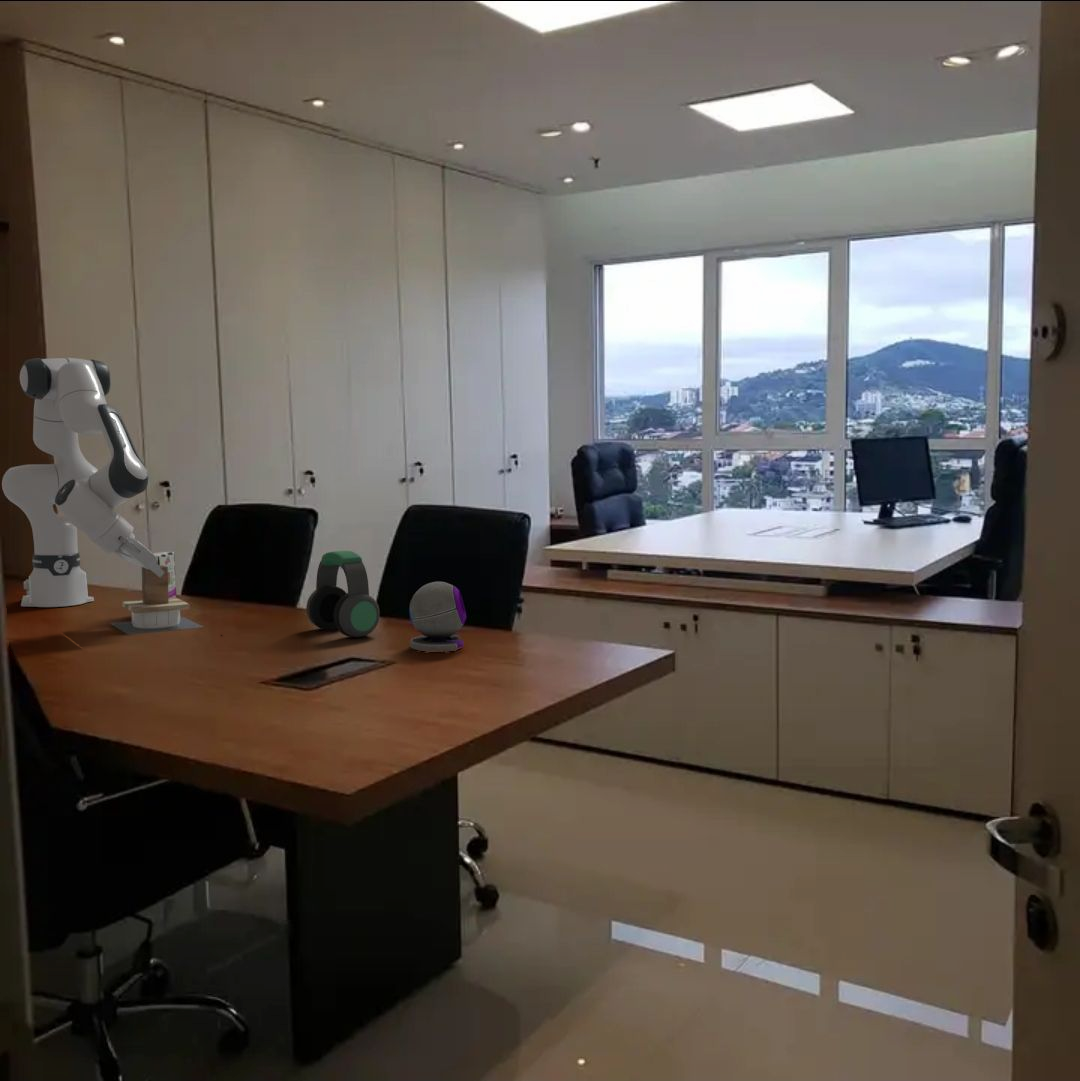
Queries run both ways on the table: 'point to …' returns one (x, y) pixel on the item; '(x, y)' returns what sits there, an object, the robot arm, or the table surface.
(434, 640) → the webcam
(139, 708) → the table surface
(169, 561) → the candy bar box
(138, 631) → the mat
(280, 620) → the table surface
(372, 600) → the headphones
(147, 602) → the lid
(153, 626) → the bowl
